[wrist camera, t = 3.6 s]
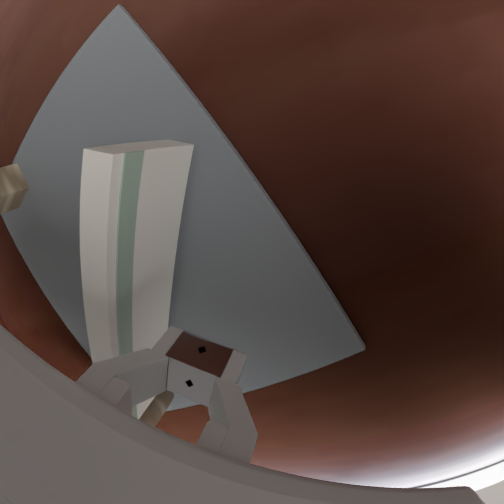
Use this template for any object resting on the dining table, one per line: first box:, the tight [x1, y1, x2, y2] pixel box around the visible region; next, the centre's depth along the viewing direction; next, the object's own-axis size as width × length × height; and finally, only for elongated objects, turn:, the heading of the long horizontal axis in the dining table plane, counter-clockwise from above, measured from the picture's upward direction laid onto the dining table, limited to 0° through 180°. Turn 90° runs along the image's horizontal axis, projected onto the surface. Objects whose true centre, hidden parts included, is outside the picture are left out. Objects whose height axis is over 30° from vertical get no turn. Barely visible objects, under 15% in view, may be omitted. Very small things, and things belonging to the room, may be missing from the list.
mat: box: [1, 5, 365, 411], centre depth 20 cm, size 28×24×1 cm
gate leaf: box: [80, 139, 194, 419], centre depth 16 cm, size 19×2×6 cm, turn 166°
